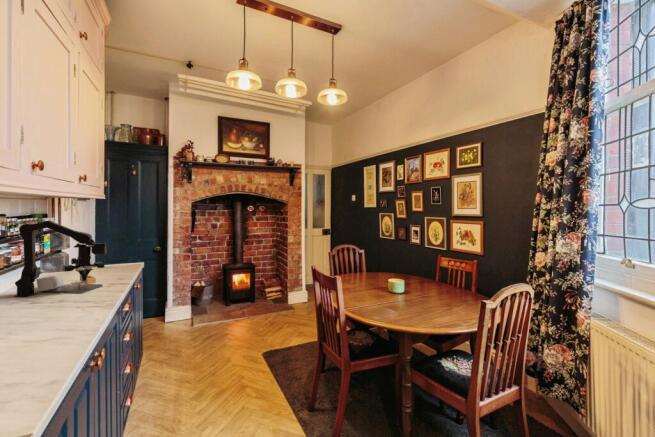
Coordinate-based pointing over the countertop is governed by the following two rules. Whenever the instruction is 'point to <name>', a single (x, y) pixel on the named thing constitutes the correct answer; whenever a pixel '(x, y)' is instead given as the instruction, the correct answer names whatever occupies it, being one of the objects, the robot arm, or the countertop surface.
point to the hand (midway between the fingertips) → (83, 281)
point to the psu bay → (80, 290)
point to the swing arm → (88, 280)
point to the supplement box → (50, 282)
